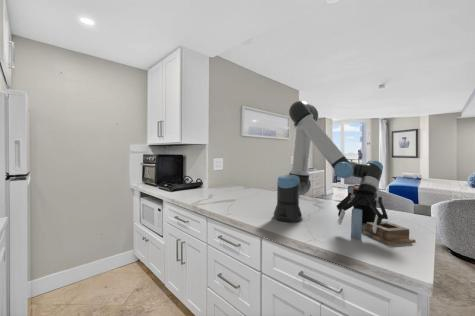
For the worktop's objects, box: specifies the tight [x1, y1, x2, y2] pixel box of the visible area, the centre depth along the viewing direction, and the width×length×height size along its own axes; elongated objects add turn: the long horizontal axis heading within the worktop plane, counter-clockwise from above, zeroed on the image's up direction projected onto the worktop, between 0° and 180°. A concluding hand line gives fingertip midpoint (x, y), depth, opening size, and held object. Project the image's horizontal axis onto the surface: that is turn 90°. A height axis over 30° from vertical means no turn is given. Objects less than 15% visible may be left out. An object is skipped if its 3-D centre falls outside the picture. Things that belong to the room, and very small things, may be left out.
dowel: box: [350, 208, 363, 240], centre depth 95 cm, size 4×4×12 cm
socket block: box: [362, 220, 416, 245], centre depth 97 cm, size 14×14×5 cm
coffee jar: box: [352, 185, 378, 224], centre depth 119 cm, size 11×11×18 cm
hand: (355, 226), depth 94 cm, fingers open, 13 cm apart
